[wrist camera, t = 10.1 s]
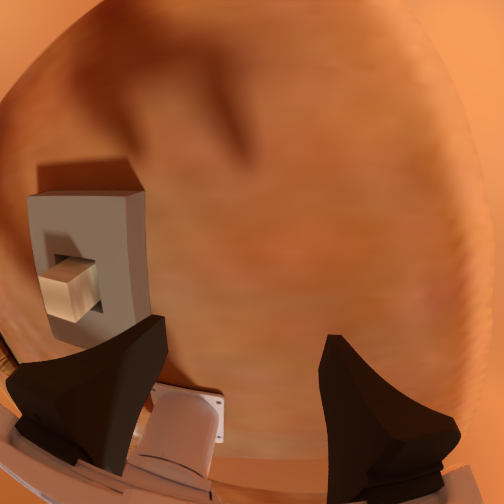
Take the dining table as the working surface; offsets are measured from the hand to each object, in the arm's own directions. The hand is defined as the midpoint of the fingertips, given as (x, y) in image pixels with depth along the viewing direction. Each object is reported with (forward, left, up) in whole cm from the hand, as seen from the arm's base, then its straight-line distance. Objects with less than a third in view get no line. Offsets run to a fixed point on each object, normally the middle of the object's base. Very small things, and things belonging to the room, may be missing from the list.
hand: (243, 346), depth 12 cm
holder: (-2, +14, -9) cm, 17 cm away
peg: (-2, +14, -10) cm, 17 cm away
